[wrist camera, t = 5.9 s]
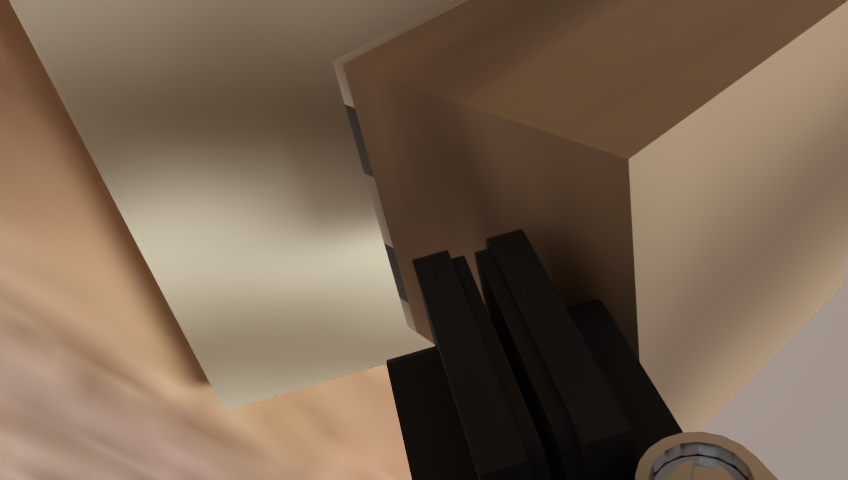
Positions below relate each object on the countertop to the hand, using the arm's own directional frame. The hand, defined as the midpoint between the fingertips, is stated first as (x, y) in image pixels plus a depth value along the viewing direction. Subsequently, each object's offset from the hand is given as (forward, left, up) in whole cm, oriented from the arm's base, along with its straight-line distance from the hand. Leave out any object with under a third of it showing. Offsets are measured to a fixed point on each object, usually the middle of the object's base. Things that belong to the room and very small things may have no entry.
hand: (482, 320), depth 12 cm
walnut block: (0, +1, -5) cm, 5 cm away
